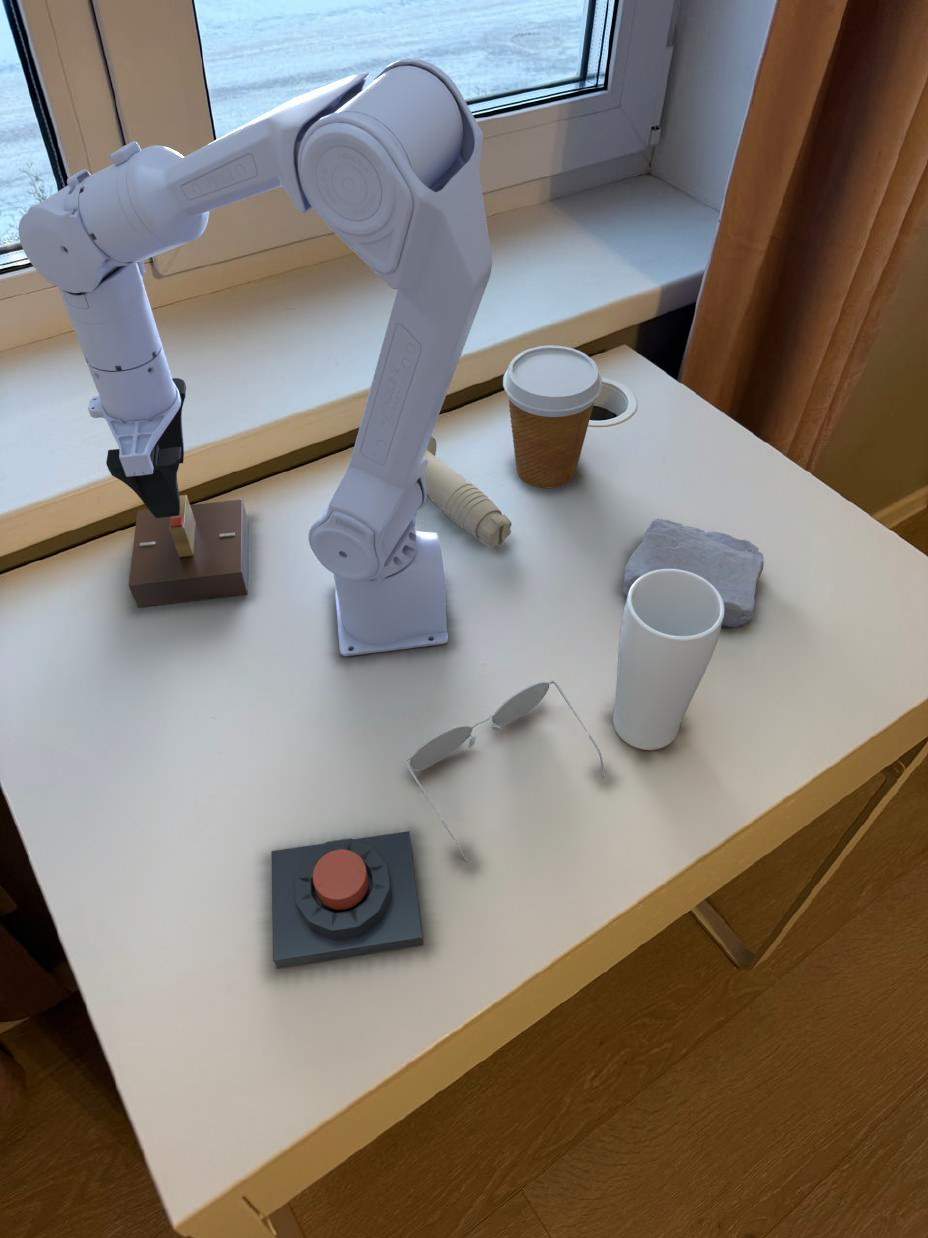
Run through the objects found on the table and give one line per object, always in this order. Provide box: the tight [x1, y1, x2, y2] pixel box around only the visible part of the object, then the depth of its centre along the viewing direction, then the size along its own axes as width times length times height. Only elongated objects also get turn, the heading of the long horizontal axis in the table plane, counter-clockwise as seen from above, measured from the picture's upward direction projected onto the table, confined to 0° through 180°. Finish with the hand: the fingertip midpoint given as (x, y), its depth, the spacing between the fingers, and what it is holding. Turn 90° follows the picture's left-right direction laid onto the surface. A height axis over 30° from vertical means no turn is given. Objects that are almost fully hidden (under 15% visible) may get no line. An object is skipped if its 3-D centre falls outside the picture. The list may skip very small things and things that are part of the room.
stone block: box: [622, 518, 765, 628], centre depth 82 cm, size 12×5×10 cm
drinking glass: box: [612, 569, 724, 751], centre depth 67 cm, size 7×7×15 cm
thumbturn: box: [169, 494, 196, 557], centre depth 82 cm, size 4×1×4 cm, turn 8°
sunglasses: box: [404, 679, 606, 862], centre depth 68 cm, size 14×8×5 cm, turn 122°
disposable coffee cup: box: [502, 345, 603, 489], centre depth 90 cm, size 10×10×12 cm
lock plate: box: [127, 499, 249, 608], centre depth 84 cm, size 10×10×3 cm
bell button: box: [313, 849, 369, 910], centre depth 61 cm, size 4×4×2 cm
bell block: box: [270, 830, 425, 969], centre depth 62 cm, size 10×8×3 cm
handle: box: [424, 434, 513, 547], centre depth 89 cm, size 5×6×15 cm
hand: (169, 487), depth 78 cm, fingers open, 6 cm apart
